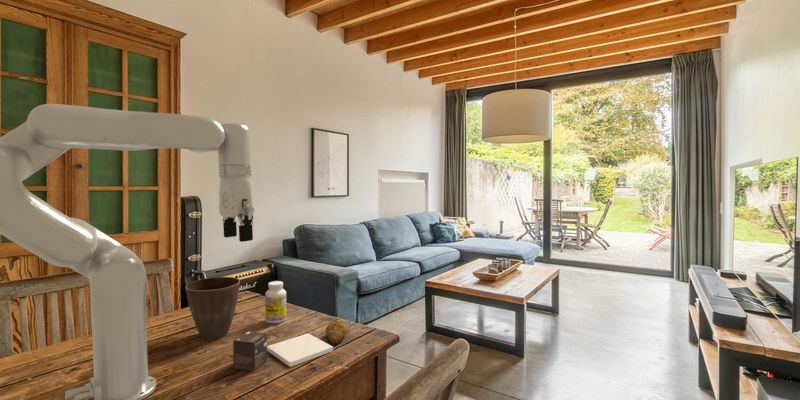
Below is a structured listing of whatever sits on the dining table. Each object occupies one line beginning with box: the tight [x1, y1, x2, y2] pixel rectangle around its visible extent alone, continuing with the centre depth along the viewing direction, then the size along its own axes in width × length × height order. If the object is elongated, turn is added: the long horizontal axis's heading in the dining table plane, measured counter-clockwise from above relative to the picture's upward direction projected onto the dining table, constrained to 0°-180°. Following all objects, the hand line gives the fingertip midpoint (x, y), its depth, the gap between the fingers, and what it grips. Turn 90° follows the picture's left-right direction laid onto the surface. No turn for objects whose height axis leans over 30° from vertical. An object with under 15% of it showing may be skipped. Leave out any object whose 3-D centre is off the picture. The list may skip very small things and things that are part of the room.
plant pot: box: [184, 276, 241, 340], centre depth 116 cm, size 15×15×16 cm
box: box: [232, 331, 268, 371], centre depth 97 cm, size 6×6×7 cm
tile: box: [267, 332, 334, 368], centre depth 105 cm, size 13×13×1 cm
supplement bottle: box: [264, 280, 287, 324], centre depth 128 cm, size 7×7×13 cm
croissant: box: [325, 320, 349, 346], centre depth 115 cm, size 14×7×5 cm, turn 4°
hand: (238, 238), depth 98 cm, fingers open, 9 cm apart
